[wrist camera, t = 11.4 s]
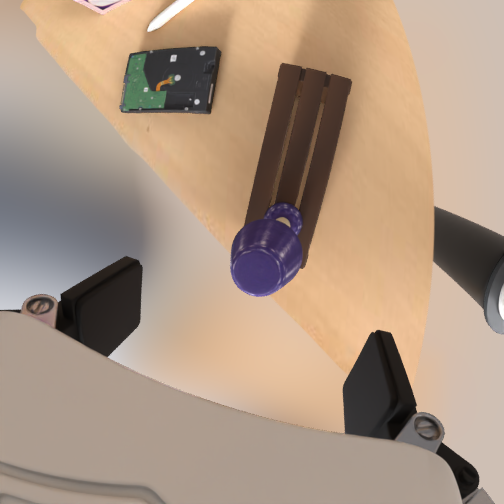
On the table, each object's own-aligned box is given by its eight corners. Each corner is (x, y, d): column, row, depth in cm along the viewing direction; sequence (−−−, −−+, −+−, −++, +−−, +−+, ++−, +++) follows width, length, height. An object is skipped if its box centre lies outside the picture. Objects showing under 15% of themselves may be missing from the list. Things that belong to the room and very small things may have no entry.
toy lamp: (252, 217, 31) (198, 272, 16) (282, 187, 30) (256, 213, 14) (283, 248, 32) (260, 330, 16) (313, 219, 30) (322, 279, 15)
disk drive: (222, 51, 34) (137, 57, 36) (217, 44, 31) (128, 52, 33) (212, 115, 37) (127, 114, 39) (206, 111, 35) (117, 113, 36)
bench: (342, 97, 33) (353, 79, 25) (305, 247, 41) (304, 269, 32) (285, 83, 34) (280, 62, 26) (251, 232, 41) (236, 251, 33)
